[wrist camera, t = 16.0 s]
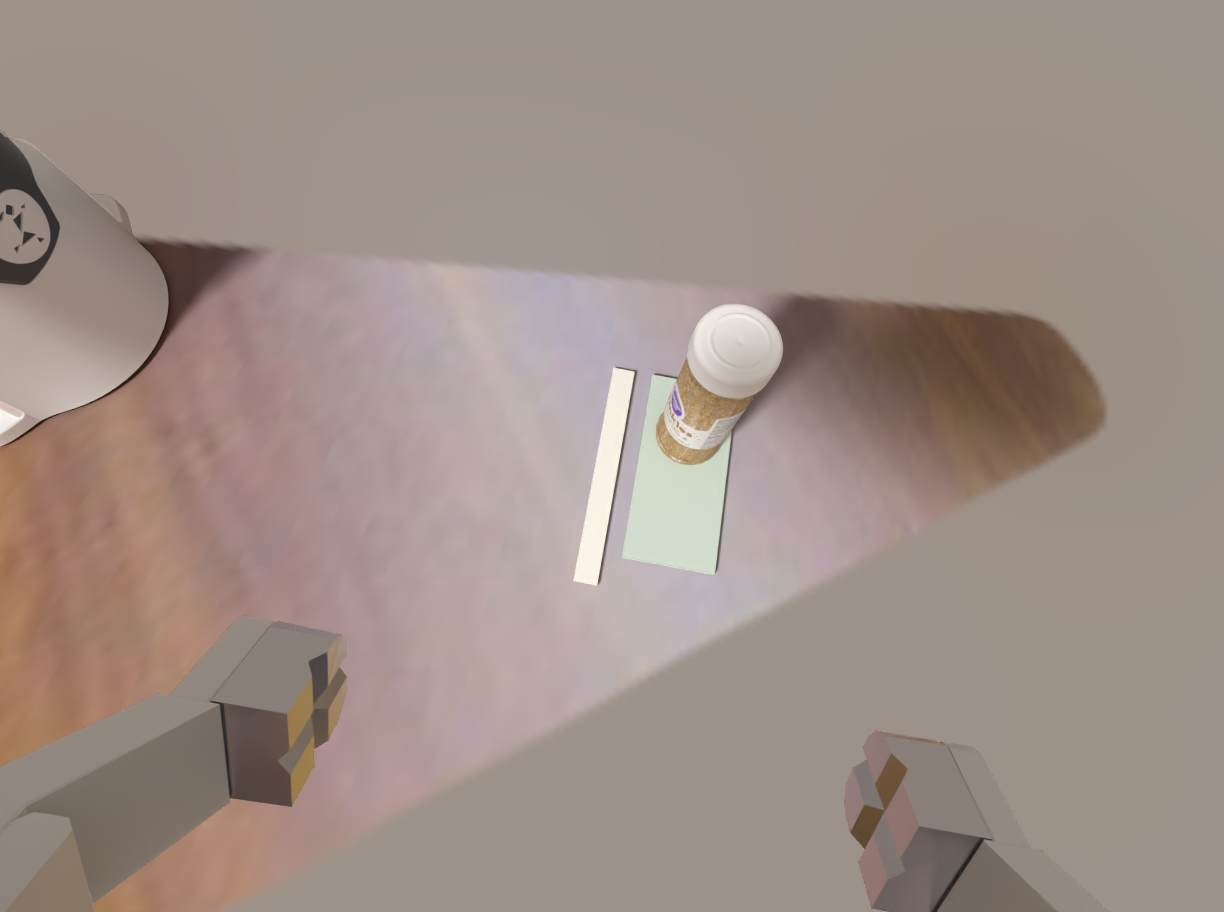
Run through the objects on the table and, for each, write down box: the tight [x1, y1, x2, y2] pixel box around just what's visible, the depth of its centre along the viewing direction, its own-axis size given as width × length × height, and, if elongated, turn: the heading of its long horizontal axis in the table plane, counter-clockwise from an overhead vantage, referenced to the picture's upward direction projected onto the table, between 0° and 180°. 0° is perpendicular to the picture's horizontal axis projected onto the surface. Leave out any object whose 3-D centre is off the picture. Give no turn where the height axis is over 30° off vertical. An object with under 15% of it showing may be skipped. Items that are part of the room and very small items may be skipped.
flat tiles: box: [574, 368, 732, 585], centre depth 44 cm, size 9×15×1 cm, turn 170°
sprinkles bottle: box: [656, 304, 783, 465], centre depth 39 cm, size 5×5×14 cm
